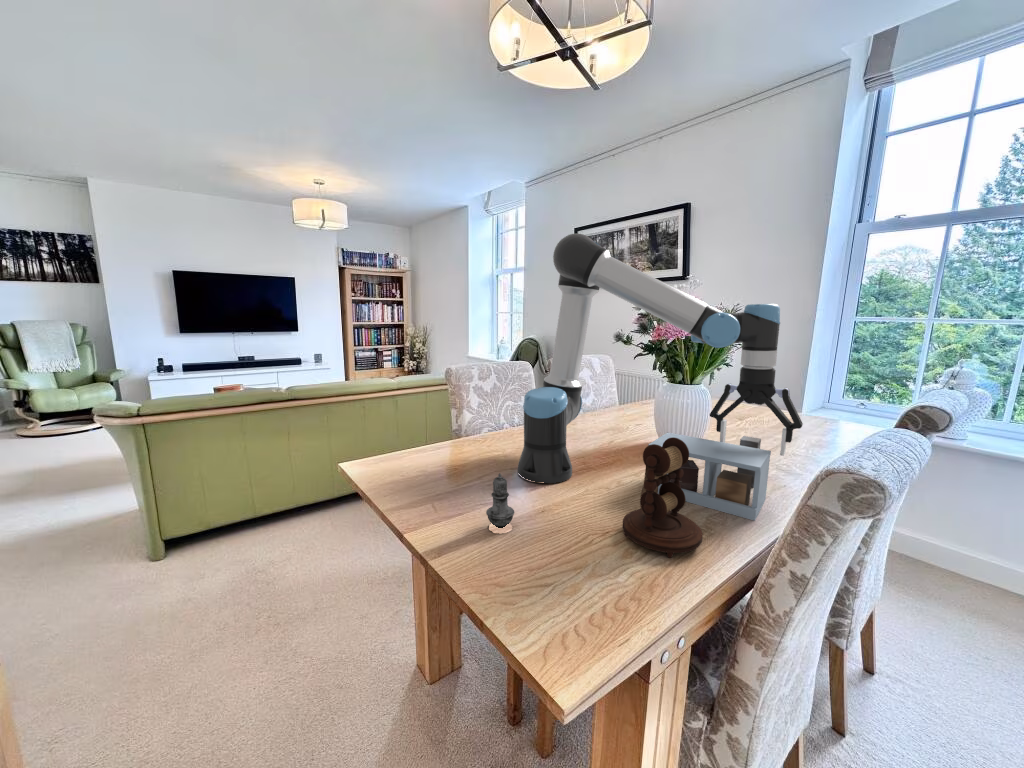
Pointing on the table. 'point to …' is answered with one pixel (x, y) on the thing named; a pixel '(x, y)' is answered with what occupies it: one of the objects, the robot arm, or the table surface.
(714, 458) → the shelf
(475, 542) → the table surface
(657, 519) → the thread spool stand
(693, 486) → the box
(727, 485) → the walnut block
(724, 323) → the robot arm
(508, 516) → the salt shaker
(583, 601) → the table surface
